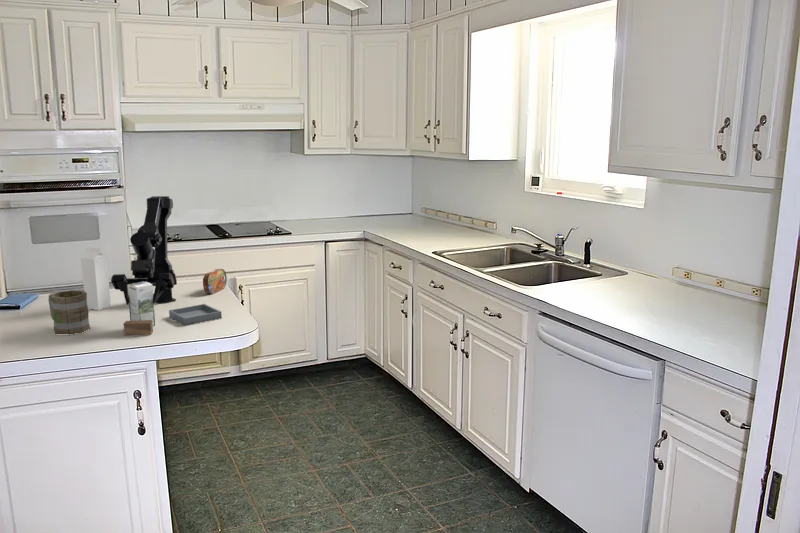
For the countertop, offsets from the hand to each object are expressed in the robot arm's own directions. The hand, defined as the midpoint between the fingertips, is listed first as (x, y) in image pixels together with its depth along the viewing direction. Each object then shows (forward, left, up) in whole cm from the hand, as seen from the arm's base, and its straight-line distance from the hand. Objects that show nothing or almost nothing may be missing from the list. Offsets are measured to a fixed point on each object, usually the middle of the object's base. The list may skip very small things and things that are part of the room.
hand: (140, 303), depth 218 cm
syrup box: (-1, +1, -8) cm, 8 cm away
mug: (-16, -18, -9) cm, 26 cm away
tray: (-1, +19, -9) cm, 21 cm away
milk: (-36, -2, -9) cm, 37 cm away
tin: (-31, +41, -9) cm, 52 cm away
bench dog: (+4, -3, -9) cm, 10 cm away
